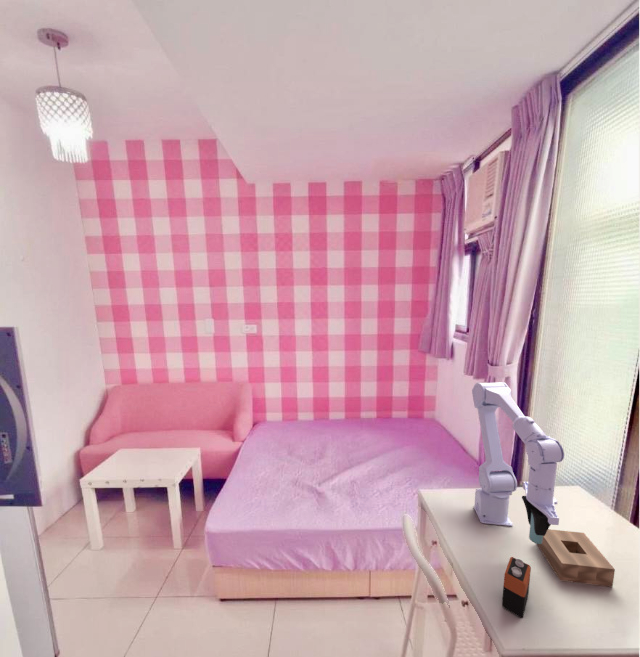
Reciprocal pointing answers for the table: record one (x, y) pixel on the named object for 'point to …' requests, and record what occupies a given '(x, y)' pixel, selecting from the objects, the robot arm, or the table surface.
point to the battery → (516, 586)
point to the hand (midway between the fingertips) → (536, 529)
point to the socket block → (576, 558)
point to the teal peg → (532, 534)
